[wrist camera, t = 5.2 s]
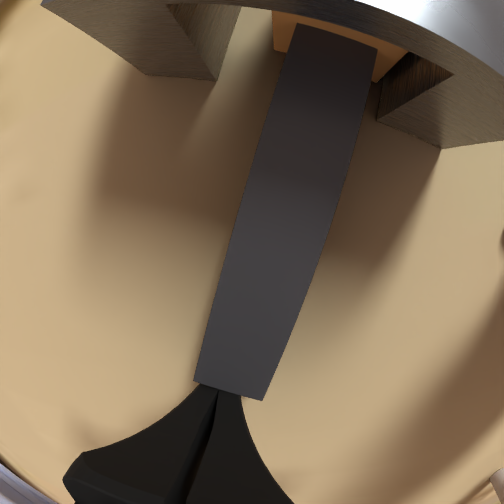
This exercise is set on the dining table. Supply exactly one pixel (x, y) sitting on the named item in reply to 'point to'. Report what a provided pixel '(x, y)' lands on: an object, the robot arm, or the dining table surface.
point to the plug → (289, 197)
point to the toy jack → (498, 484)
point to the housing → (343, 14)
